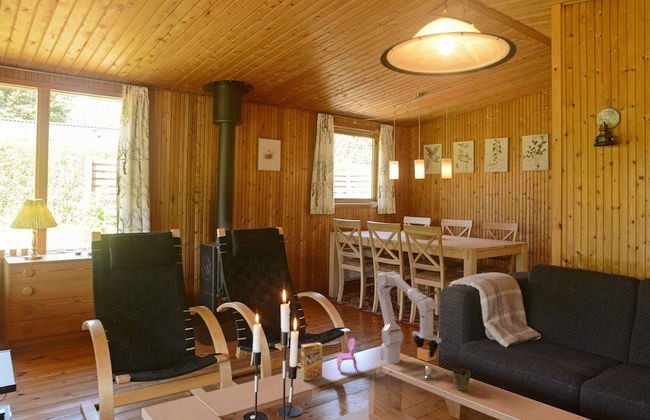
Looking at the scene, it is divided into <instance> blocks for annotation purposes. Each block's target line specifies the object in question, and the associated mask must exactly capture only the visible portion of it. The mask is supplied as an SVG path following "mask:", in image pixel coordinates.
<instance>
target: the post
mask: <svg viewBox="0 0 650 420" xmlns="http://www.w3.org/2000/svg"><path fill="white" fill-rule="evenodd" d="M425 366H426V375H425V376H424V378H425V379H432V376H431V368H432V367H431V366H430V365H425Z"/></svg>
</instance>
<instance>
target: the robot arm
mask: <svg viewBox="0 0 650 420" xmlns="http://www.w3.org/2000/svg"><path fill="white" fill-rule="evenodd" d="M375 280H376V285H377V289H376V290H377V294H378V295H377V296H378V299H379V304H380V308H381V309H380V310H381V313H382V318H383V323H384V327H383V328H382V329H381V341H382V344H381V345H380V347H379V348H380V349H379V351H380V353H379V357H380V358H379V360H378V361H379V362H380V361H384V362H385V363H388V364H399V363H400V362H401V345H402V342H403V341H404V338H405V337H404V333H403V332H402V330H401V326H400V325H398V323H397V322H396V318H395V317H396V316H395V312H394V309H393V305H392V299H391V294H390V291H391V289H392V288H393V287H397V288H399V290H401V291H403V292H404V293H405V294H406V295H407V298H408V300H410V301H411V302H412V303H413V304H415V305H416V306H417V309H418V312H419V313H418V314H419V331H416V330H414V331H412V337H413V340H414V342H415V345H416V346H417V348H419V347H422V346H424V342H425V340H427V341H429V342H427V344H428V346H429V348H430V357H431V358H432V357H434V355H435V351H436V352H437V348H438V347H439V345H440V344H441V343H442V338H441V337H438V336H437V335H435V334H434V310H435V309H436V307H437V304H436V301H435V299H434V298H432V297H428V296H427V295H426V294H424V293H422V292H421V291H420V289H419V288H412V287H411V286H410V285H409V284H408V283H407V282H406V281H405V280H404V279H402V277H401V275H400V274H399V273H398V272H397V271H393V270H392V271H387V272H381V273H378V275H377V277H376V278H375Z"/></svg>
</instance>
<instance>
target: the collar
mask: <svg viewBox="0 0 650 420" xmlns="http://www.w3.org/2000/svg"><path fill="white" fill-rule="evenodd" d="M416 351H417V353H416V354H417V355H416V356H417V357H416V358H417V359H419V360H422V361H425V362H430V361H433V360H436V358H437V356H436V355H437V350H436V351H435V355H434V357H432V358H431V357H430V348H429V345H423V346H422V347H419V348H417V350H416Z"/></svg>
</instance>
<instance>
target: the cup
mask: <svg viewBox="0 0 650 420" xmlns="http://www.w3.org/2000/svg"><path fill="white" fill-rule="evenodd" d="M451 371H452V376H453V377H452V378H453V383H454V384H455V385H456V389H457V390H458V391H463V392H464V391H466V389H467V387H468V386H469V385H470V380H471V373H472V372H471V370H469V369H467V368H466V367H464V368H462V367H460V368H459V369H458V367H454V368H453V369H452V370H451Z"/></svg>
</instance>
